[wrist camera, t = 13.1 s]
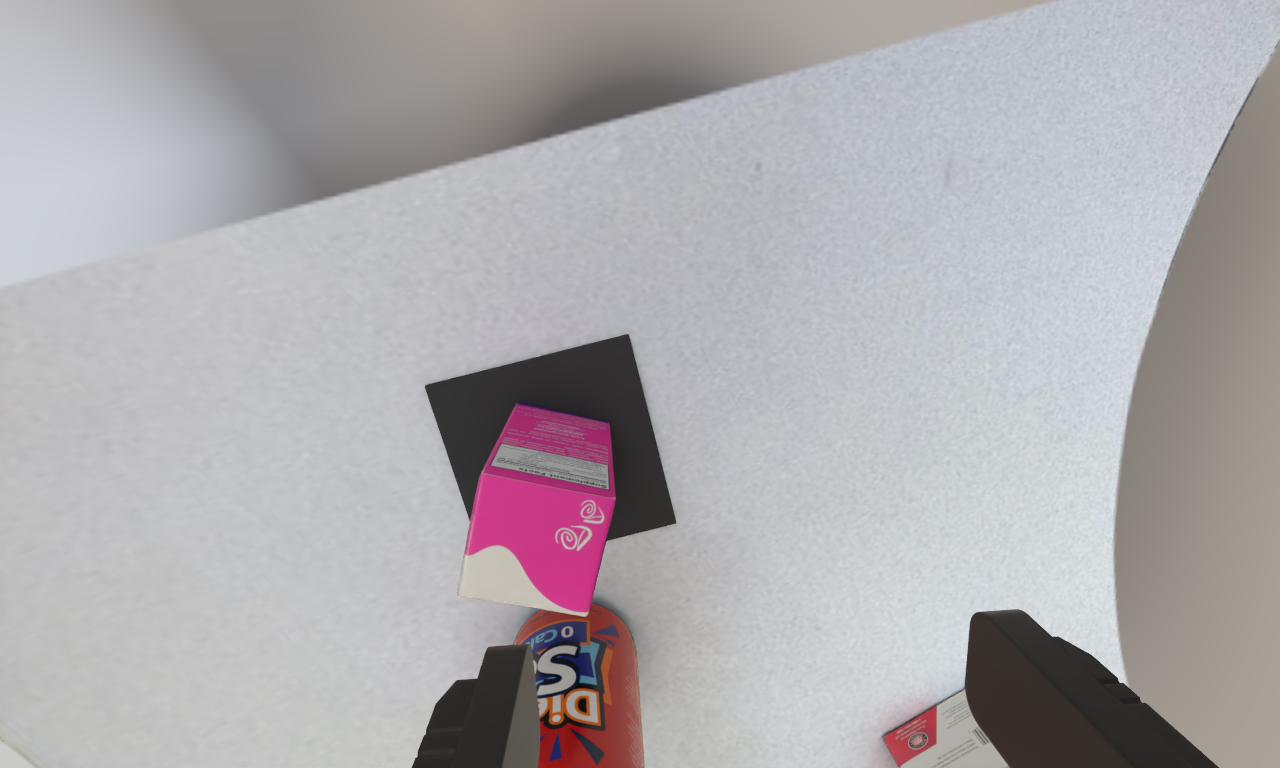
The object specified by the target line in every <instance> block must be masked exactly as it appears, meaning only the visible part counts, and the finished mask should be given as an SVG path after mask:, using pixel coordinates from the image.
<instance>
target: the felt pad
mask: <svg viewBox="0 0 1280 768" xmlns="http://www.w3.org/2000/svg"><path fill="white" fill-rule="evenodd" d="M425 389H426V392H427V395H428V398H429V401H430V404H431V407H432V410H433V413H434V416H435V418H436V421H437V424H438V427H439V430H440V433H441V436H442V439H443V442H444V445H445V448H446V451H447V454H448V457H449V460H450V463H451V466H452V469H453V472H454V475H455V478H456V481H457V484H458V487H459V490H460V493H461V496H462V499H463V502H464V505H465V508H466V511H467V513H468V516H469V519H470V520H471V515H472V510H473V505H474V500H475V495H476V490H477V485H478V481H479V477H480V474H481V472H482V470H483V468H484V466H485V464H486V462H487V460H488V458H489V456H490V454H491V452H492V450H493V448H494V446H495V444H496V442H497V440H498V439H499V437H500V435H501V433H502V431H503V429H504V427H505V425H506V423H507V421H508V419H509V417H510V415H511V413H512V411H513V409H514V407H515V404H516V403H522V404H527V405H532V406H537V407H542V408H546V409H551V410H556V411H560V412H565V413H570V414H574V415H579V416H583V417H588V418H593V419H597V420H602V421H606V422H609V423H610V433H611V446H612V458H613V472H614V483H615V495H616V502H615V506H614V510H613V514H612V518H611V522H610V527H609V531H608V535H607V539H606V541H607V540H611V539H615V538H619V537H623V536H627V535H631V534H635V533H639V532H643V531H647V530H651V529H655V528H659V527H663V526H667V525H671V524H675V523H676V520H675V516H674V512H673V508H672V504H671V500H670V496H669V492H668V488H667V484H666V481H665V477H664V473H663V469H662V465H661V461H660V457H659V453H658V449H657V445H656V441H655V437H654V433H653V429H652V425H651V421H650V417H649V413H648V409H647V405H646V401H645V397H644V394H643V390H642V386H641V382H640V378H639V374H638V370H637V366H636V362H635V358H634V354H633V350H632V346H631V342H630V338H629V335H628V334H627V335H623V336H619V337H615V338H611V339H607V340H603V341H600V342H596V343H592V344H588V345H584V346H580V347H576V348H572V349H568V350H564V351H560V352H556V353H552V354H548V355H544V356H540V357H536V358H532V359H528V360H524V361H520V362H516V363H512V364H508V365H504V366H500V367H496V368H492V369H489V370H485V371H481V372H477V373H473V374H469V375H465V376H461V377H457V378H453V379H449V380H445V381H441V382H437V383H433V384H429V385H426V386H425Z"/></svg>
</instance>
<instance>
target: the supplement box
mask: <svg viewBox="0 0 1280 768" xmlns="http://www.w3.org/2000/svg"><path fill="white" fill-rule="evenodd" d="M615 502H616V495H615V483H614V472H613V458H612V446H611V433H610V423H609V422H606V421H602V420H597V419H593V418H588V417H583V416H579V415H574V414H570V413H565V412H560V411H556V410H551V409H546V408H542V407H537V406H532V405H527V404H522V403H516V404H515V407H514V409H513V411H512V413H511V415H510V417H509V419H508V421H507V423H506V425H505V427H504V429H503V431H502V433H501V435H500V437H499V439H498V440H497V442H496V444H495V446H494V448H493V450H492V452H491V454H490V456H489V458H488V460H487V462H486V464H485V466H484V468H483V470H482V472H481V474H480V477H479V481H478V485H477V490H476V495H475V500H474V505H473V510H472V515H471V520H470V525H469V531H468V536H467V542H466V547H465V553H464V558H463V564H462V569H461V575H460V580H459V586H458V596H460V597H467V598H474V599H481V600H488V601H495V602H501V603H508V604H514V605H520V606H526V607H532V608H537V609H543V610H549V611H554V612H560V613H566V614H571V615H578V616H584V617H586V616H587V615H588V613H589V609H590V606H591V602H592V598H593V594H594V590H595V586H596V581H597V577H598V573H599V569H600V565H601V561H602V556H603V552H604V548H605V544H606V539H607V535H608V531H609V527H610V522H611V518H612V514H613V510H614V506H615Z"/></svg>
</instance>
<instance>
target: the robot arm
mask: <svg viewBox="0 0 1280 768" xmlns="http://www.w3.org/2000/svg"><path fill="white" fill-rule="evenodd" d="M965 692H966V698H967V702H968V705H969V708H970V711H971V713H972V715H973V717H974V719H975V721H976V723H977V724H978V725H979V727H980V728H981V730H982V731H983V732H984V734H985V735H986V736H987V738H988V739H989V740H990V742H991V743H992V744H993V746H994V747H995V748H996V750H997V751H998V753H999V754H1000V755H1001V757H1002V758H1003V759H1004V761H1005V762H1006V763H1007V765H1008V766H1009V767H1010V768H1219V767H1218V766H1217V765H1215V764H1214V763H1213V762H1212V761H1211V760H1209V758H1207V757H1206V756H1205V755H1204V754H1203V753H1202V752H1201V751H1200V750H1198V749H1197V748H1196V747H1195V746H1194V745H1193V744H1192V743H1191V742H1189V741H1188V740H1187V739H1186V738H1185V737H1184V736H1183V735H1181V734H1180V733H1179V732H1178V731H1177V730H1176V729H1174V727H1172V726H1171V725H1170V724H1169V723H1168V722H1167V721H1166V720H1164V719H1163V718H1162V717H1161V716H1160V715H1159V714H1158V713H1157V712H1155V711H1154V710H1153V709H1152V708H1151V707H1150V706H1149V705H1147V704H1146V703H1142V702H1141V701H1140V697H1138V696H1137V695H1136V694H1135V693H1134V692H1133V691H1132V690H1131V689H1129V688H1128V687H1127V686H1126V685H1125V684H1124V683H1119V681H1118V678H1117V677H1116V676H1115V675H1114V674H1112V673H1111V672H1110V671H1109V670H1108V669H1107V668H1106V667H1104V666H1103V665H1102V664H1101V663H1100V662H1099V661H1098V660H1097V659H1095V658H1094V657H1093V656H1092V655H1090V654H1089V653H1087V652H1085V651H1083V650H1081V649H1080V648H1078V647H1076V646H1074V645H1072V644H1071V643H1069V642H1067V641H1065V640H1063V639H1062V638H1060V637H1052V636H1051V635H1050V634H1048V633H1047V632H1046V631H1045V630H1044V629H1043V628H1042V627H1041V626H1040V625H1039V624H1038V623H1037V622H1035V621H1034V620H1033V619H1032V618H1031V617H1030V616H1029V615H1028V614H1027V613H1025V612H1024V611H1022V610H1019V609H1014V610H1001V611H987V612H977V613H975V614H974V615H973V616H972V618H971V621H970V630H969V642H968V653H967V665H966V677H965ZM539 749H540V716H539V706H538V697H537V689H536V680H535V671H534V662H533V653H532V648H531V645H530V644H522V645H508V646H495V647H488V648H487V650H486V653H485V656H484V659H483V663H482V666H481V669H480V672H479V676H478V679H468V680H457V681H456V682H455V683H454V684H453V685H452V686H451V687H450V688H449V690H448V691H447V692H446V693H445V694H444V695H443V696H442V698H441V699H440V700H439V701H438V702H437V703H436V705H435V708H434V711H433V713H432V716H431V719H430V721H429V724H428V727H427V729H426V735H424V737H423V740H422V742H421V745H420V748H419V750H418V757H417V758H415V761H414V764H413V766H412V768H537V766H538V759H539Z"/></svg>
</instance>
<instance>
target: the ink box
mask: <svg viewBox="0 0 1280 768" xmlns="http://www.w3.org/2000/svg"><path fill="white" fill-rule="evenodd" d="M883 741H884V743H885V744H886V746H887V748H888V749H889V751H890V753H891V755H892V757H893V758H894V760H895V762H896V764H897V765H898V767H899V768H1010V767H1009V766H1008V765H1007V763H1006V762H1005V761H1004V759H1003V758H1002V757H1001V755H1000V754H999V753H998V751H997V750H996V748H995V747H994V746H993V744H992V743H991V742H990V740H989V739H988V738H987V736H986V735H985V734H984V732H983V731H982V730H981V728H980V727H979V725H978V724H977V723H976V721H975V719H974V717H973V715H972V713H971V711H970V708H969V705H968V702H967V698H966V692H965V689H964V690H963V691H961V692H959V693H958V694H956V695H954V696H952V697H951V698H949V699H947V700H946V701H944V702H942V703H941V704H939V705H937V706H936V707H934V708H932V709H930V710H928V711H927V712H925V713H923V714H922V715H920V716H918V717H917V718H915V719H913V720H912V721H910V722H908V723H907V724H905V725H903V726H901V727H900V728H898V729H896V730H895V731H893V732H891V733H889V734H888V735H886V736H884V737H883Z"/></svg>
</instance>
